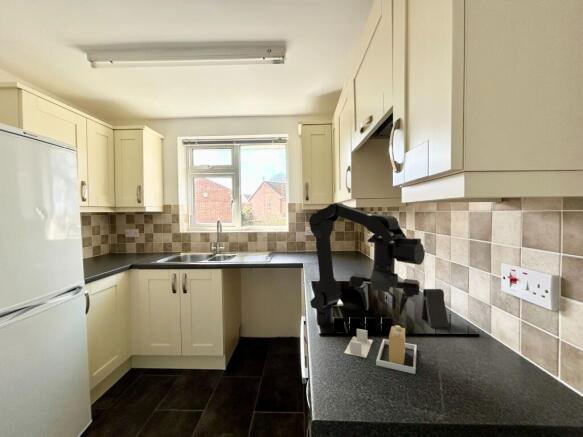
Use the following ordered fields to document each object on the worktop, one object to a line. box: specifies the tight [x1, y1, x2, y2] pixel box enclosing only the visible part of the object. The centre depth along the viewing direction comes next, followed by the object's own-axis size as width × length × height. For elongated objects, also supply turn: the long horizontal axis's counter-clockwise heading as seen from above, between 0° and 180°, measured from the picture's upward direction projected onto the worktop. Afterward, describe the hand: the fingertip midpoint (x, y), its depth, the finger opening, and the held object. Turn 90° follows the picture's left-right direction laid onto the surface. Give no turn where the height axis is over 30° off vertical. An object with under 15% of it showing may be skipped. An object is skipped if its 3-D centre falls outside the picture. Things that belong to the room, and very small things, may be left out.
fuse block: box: [343, 328, 374, 359], centre depth 78 cm, size 11×6×4 cm, turn 154°
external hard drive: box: [335, 298, 344, 307], centre depth 119 cm, size 2×8×12 cm
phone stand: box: [418, 288, 450, 329], centre depth 97 cm, size 9×6×12 cm, turn 179°
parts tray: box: [375, 338, 417, 375], centre depth 73 cm, size 13×9×2 cm
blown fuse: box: [388, 324, 406, 365], centre depth 72 cm, size 7×4×8 cm, turn 155°
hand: (383, 312), depth 79 cm, fingers open, 9 cm apart
